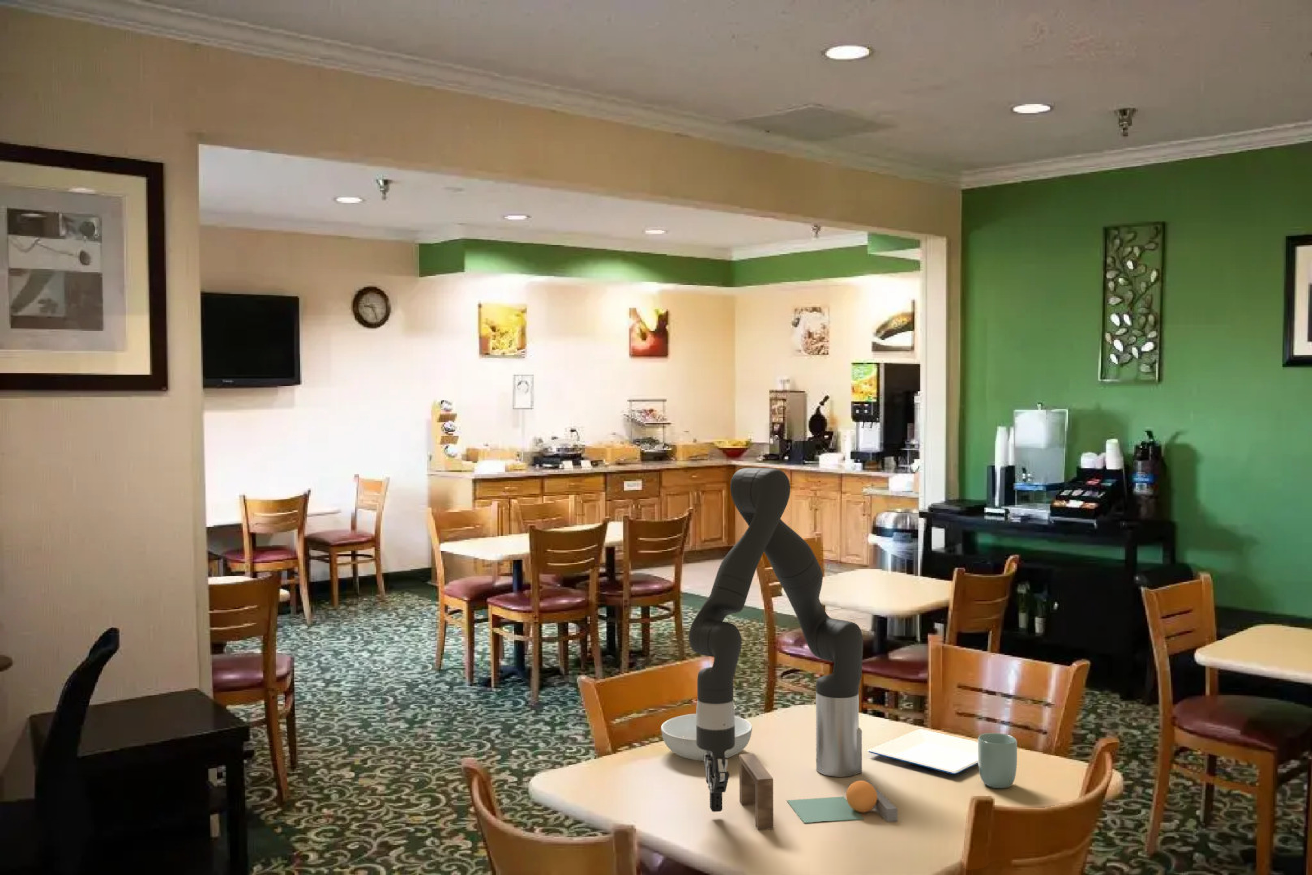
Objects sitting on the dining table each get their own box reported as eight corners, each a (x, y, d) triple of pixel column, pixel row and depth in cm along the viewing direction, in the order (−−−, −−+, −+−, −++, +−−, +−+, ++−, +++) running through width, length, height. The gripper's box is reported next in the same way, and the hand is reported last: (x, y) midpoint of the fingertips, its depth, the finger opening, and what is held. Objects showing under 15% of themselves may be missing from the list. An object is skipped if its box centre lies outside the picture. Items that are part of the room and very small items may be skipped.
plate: (1005, 756, 253) (1005, 747, 253) (955, 781, 237) (955, 772, 237) (919, 736, 269) (919, 727, 268) (866, 758, 253) (866, 749, 253)
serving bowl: (685, 736, 270) (685, 708, 269) (765, 748, 260) (765, 719, 260) (645, 761, 251) (644, 731, 251) (729, 775, 241) (729, 744, 241)
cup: (972, 779, 237) (972, 733, 237) (1007, 778, 238) (1007, 732, 238) (986, 792, 230) (986, 744, 229) (1022, 791, 230) (1022, 743, 230)
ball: (875, 779, 223) (846, 774, 222) (883, 788, 217) (853, 783, 216) (869, 808, 223) (840, 804, 222) (877, 818, 217) (847, 813, 216)
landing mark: (843, 797, 227) (843, 796, 227) (863, 819, 216) (863, 818, 216) (786, 801, 225) (786, 800, 225) (804, 823, 214) (804, 822, 214)
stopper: (868, 792, 230) (868, 780, 230) (897, 820, 214) (897, 808, 214) (859, 792, 230) (859, 780, 230) (887, 821, 214) (887, 808, 214)
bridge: (753, 800, 226) (753, 753, 226) (773, 828, 211) (773, 778, 211) (739, 801, 225) (739, 754, 225) (758, 829, 211) (757, 779, 210)
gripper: (742, 731, 210) (742, 821, 211) (726, 711, 223) (727, 796, 224) (703, 733, 209) (704, 824, 210) (690, 713, 222) (690, 799, 223)
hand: (716, 809), depth 217 cm, fingers closed
